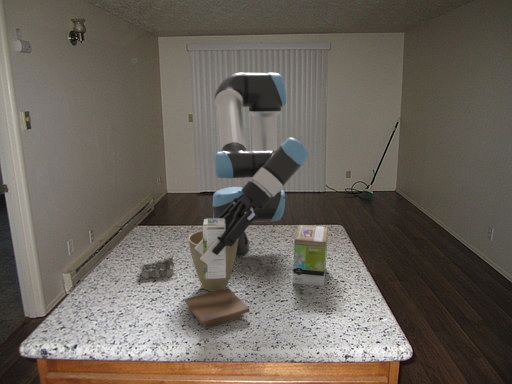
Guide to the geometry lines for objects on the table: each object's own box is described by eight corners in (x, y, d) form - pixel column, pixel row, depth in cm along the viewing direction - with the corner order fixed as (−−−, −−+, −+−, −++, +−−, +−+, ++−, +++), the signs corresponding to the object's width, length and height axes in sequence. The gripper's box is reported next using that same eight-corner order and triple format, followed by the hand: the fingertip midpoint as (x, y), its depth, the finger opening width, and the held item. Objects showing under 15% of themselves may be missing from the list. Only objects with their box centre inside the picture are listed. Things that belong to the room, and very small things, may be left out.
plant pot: (203, 302, 111) (201, 249, 108) (183, 282, 124) (180, 234, 120) (248, 289, 119) (248, 239, 115) (225, 271, 131) (224, 226, 128)
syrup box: (204, 270, 105) (202, 218, 102) (226, 269, 106) (225, 217, 103) (203, 279, 100) (201, 225, 97) (227, 278, 100) (225, 224, 97)
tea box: (324, 287, 120) (326, 241, 117) (292, 284, 122) (292, 239, 119) (326, 266, 135) (328, 225, 131) (297, 264, 137) (297, 223, 133)
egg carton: (174, 268, 135) (174, 256, 134) (174, 277, 128) (173, 265, 127) (142, 270, 134) (141, 258, 133) (140, 280, 126) (139, 268, 125)
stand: (185, 308, 108) (184, 298, 108) (228, 297, 114) (228, 287, 114) (202, 332, 97) (202, 321, 97) (249, 318, 103) (249, 308, 103)
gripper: (285, 207, 94) (221, 280, 93) (258, 190, 112) (204, 251, 111) (264, 187, 91) (197, 262, 90) (240, 173, 110) (184, 235, 108)
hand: (201, 256), depth 101 cm, fingers closed on syrup box, 7 cm apart
